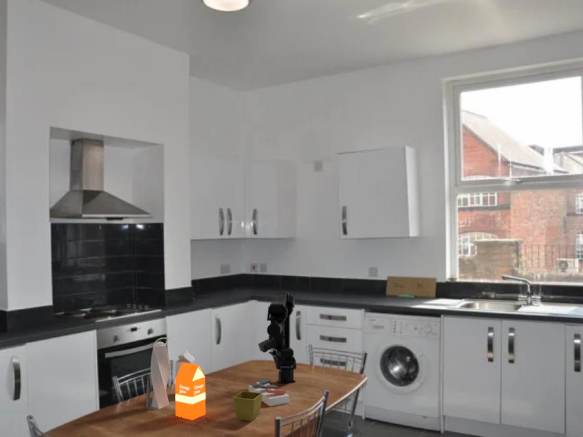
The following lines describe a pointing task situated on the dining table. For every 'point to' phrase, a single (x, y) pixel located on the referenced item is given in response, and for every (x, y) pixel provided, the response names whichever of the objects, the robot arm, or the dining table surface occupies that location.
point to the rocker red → (275, 391)
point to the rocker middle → (268, 386)
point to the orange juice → (190, 392)
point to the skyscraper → (159, 376)
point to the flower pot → (247, 405)
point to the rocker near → (261, 382)
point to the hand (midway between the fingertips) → (278, 369)
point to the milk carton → (183, 359)
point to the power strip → (271, 396)
